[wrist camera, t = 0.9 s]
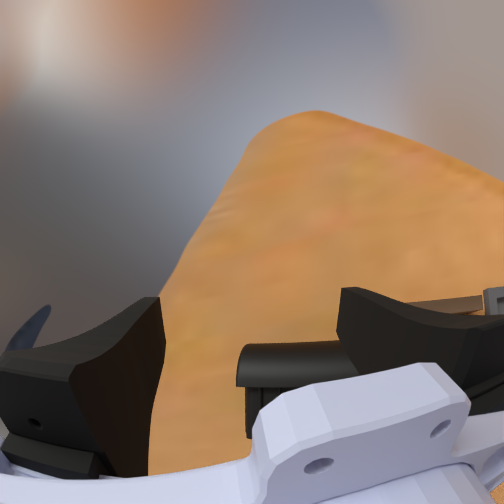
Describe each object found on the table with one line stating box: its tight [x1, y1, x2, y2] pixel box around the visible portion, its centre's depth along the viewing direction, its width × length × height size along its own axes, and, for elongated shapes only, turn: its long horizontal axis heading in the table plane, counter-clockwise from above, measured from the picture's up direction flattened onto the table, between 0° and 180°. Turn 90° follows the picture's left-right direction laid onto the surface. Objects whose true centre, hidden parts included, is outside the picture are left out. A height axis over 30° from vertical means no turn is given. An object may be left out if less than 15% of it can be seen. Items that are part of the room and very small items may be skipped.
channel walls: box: [406, 295, 483, 315], centre depth 21 cm, size 12×10×3 cm
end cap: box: [236, 340, 360, 439], centre depth 21 cm, size 10×7×7 cm
